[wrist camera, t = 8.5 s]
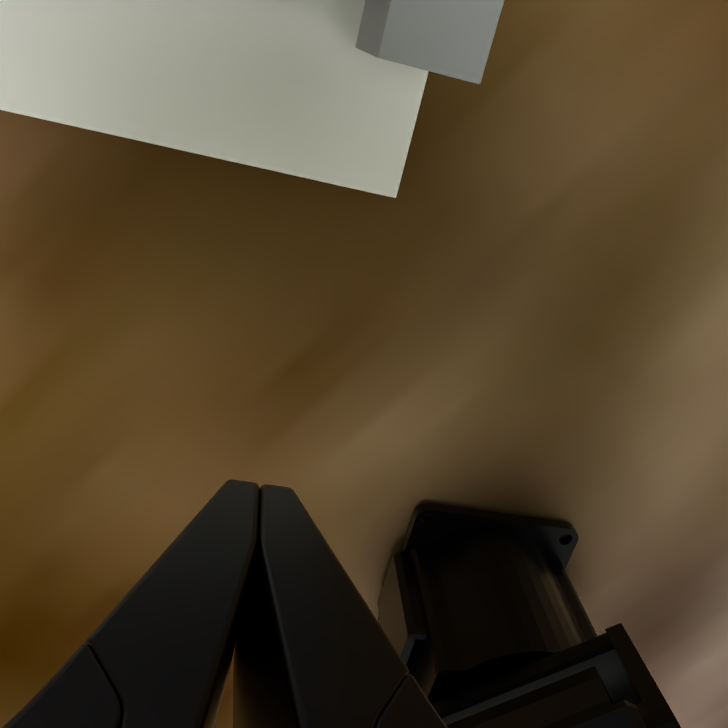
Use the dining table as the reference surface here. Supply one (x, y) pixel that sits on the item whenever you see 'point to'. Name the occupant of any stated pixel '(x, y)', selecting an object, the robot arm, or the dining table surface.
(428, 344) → the dining table surface
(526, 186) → the dining table surface
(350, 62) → the pipe rig
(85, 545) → the dining table surface
